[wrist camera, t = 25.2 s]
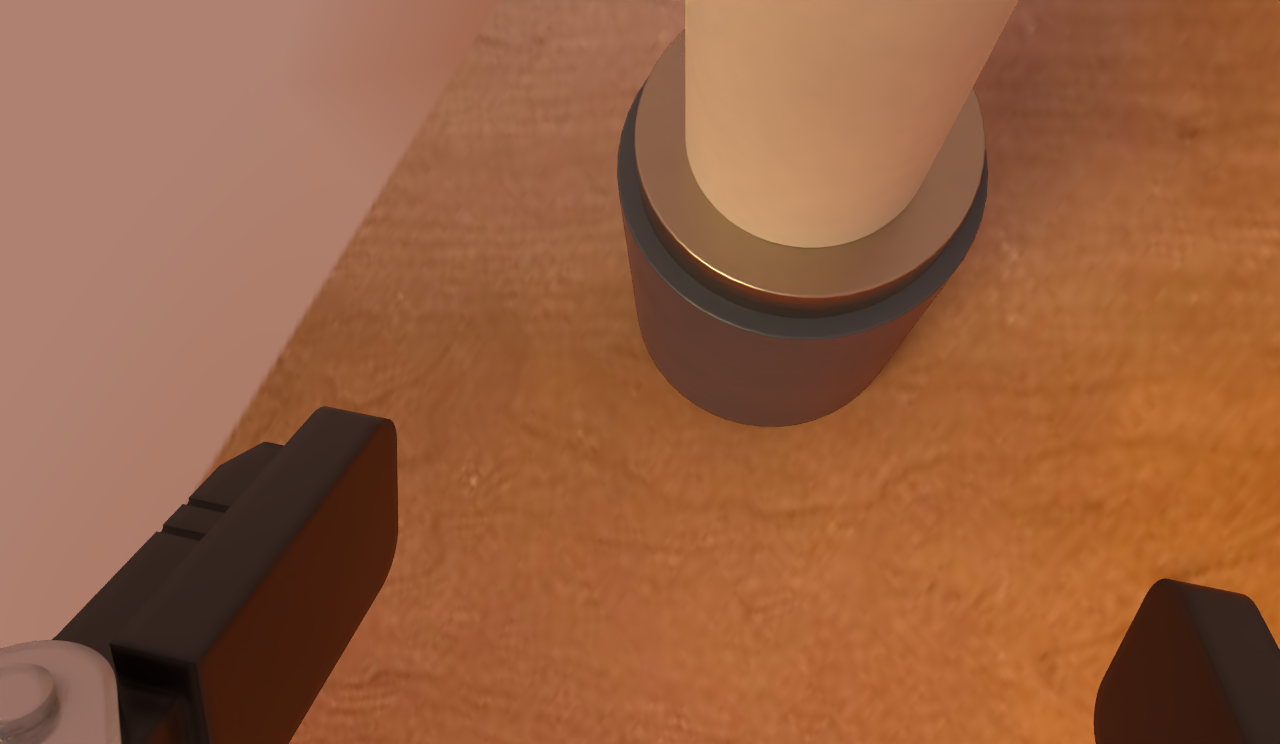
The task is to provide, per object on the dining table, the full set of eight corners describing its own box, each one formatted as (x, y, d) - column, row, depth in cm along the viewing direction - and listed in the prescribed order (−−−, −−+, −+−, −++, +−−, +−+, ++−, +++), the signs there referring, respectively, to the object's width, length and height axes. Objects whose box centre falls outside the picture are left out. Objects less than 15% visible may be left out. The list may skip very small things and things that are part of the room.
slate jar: (611, 398, 33) (573, 278, 22) (666, 159, 35) (656, -62, 24) (878, 451, 32) (983, 355, 21) (917, 203, 34) (1030, -5, 23)
